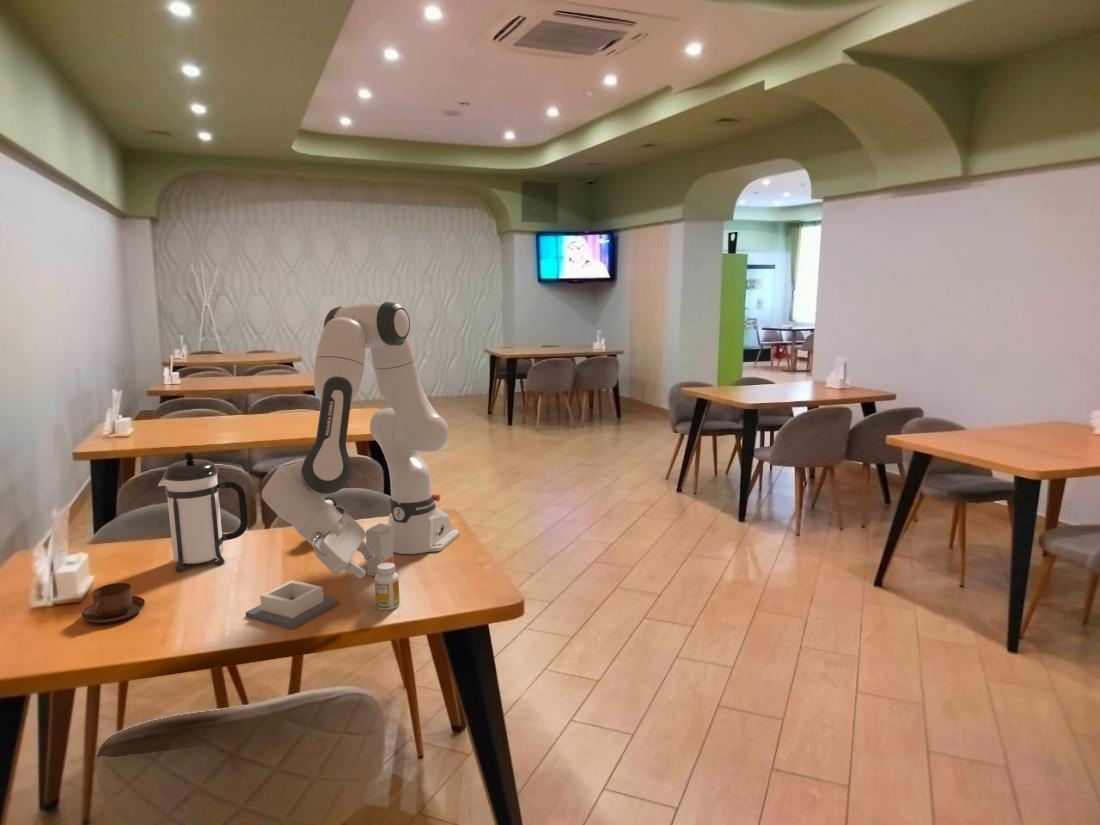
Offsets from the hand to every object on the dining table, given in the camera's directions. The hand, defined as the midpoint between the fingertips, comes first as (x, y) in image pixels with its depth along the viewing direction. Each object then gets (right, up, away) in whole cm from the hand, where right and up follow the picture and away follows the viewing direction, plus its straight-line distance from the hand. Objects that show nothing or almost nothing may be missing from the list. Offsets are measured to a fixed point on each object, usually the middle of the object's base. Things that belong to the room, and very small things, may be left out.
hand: (368, 567), depth 161 cm
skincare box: (-2, -6, +21) cm, 22 cm away
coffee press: (-51, -5, +29) cm, 59 cm away
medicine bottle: (-24, -2, +46) cm, 51 cm away
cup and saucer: (-56, -10, -2) cm, 57 cm away
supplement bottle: (+4, -9, +2) cm, 10 cm away
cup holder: (-17, -10, 0) cm, 20 cm away
